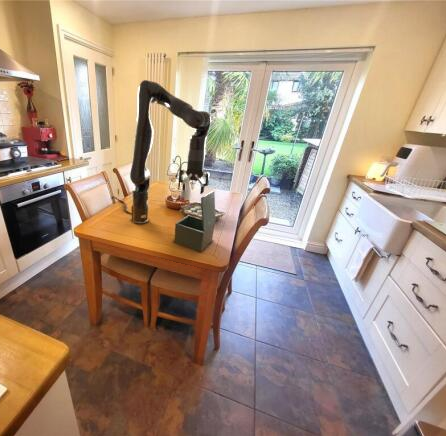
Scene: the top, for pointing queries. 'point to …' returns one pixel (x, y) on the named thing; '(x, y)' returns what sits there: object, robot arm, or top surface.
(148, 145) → the robot arm
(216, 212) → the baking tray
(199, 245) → the bin
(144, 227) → the top surface
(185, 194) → the milk bottle
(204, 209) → the bin lid
